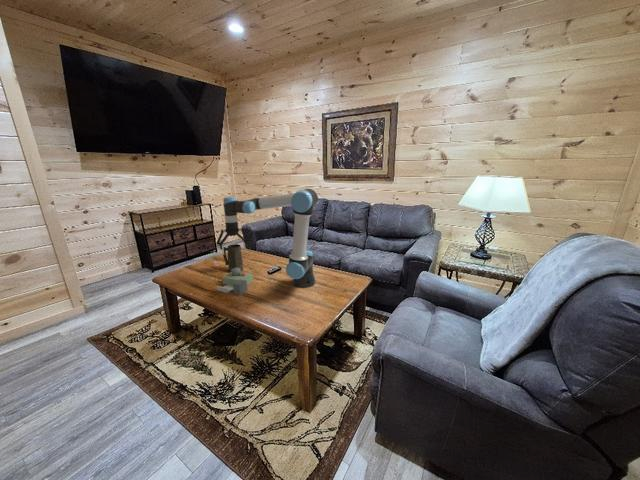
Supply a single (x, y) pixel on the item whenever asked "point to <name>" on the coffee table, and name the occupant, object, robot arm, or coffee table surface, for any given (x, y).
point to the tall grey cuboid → (240, 287)
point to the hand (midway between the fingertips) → (234, 253)
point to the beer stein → (233, 257)
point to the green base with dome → (234, 279)
